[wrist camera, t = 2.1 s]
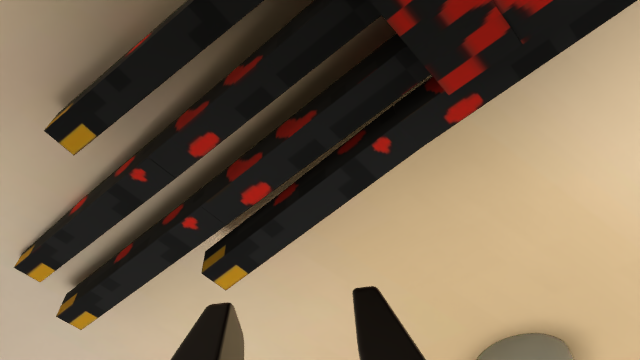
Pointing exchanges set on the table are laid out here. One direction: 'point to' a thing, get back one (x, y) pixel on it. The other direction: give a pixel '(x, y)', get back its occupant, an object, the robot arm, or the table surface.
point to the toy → (288, 125)
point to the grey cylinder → (528, 348)
